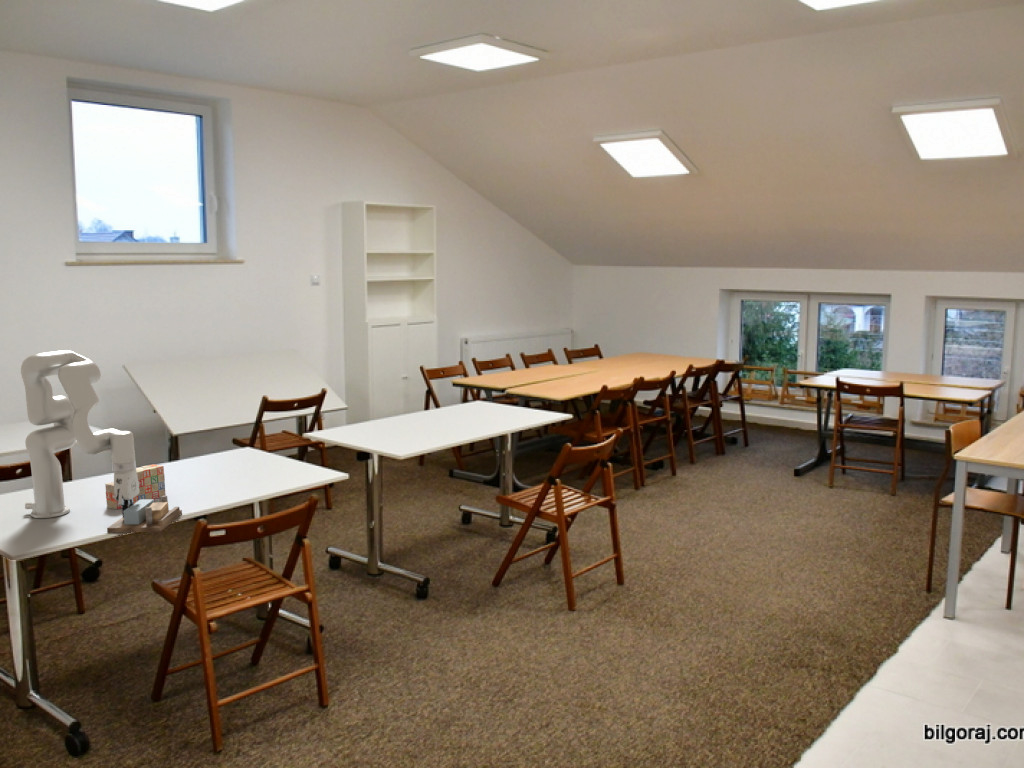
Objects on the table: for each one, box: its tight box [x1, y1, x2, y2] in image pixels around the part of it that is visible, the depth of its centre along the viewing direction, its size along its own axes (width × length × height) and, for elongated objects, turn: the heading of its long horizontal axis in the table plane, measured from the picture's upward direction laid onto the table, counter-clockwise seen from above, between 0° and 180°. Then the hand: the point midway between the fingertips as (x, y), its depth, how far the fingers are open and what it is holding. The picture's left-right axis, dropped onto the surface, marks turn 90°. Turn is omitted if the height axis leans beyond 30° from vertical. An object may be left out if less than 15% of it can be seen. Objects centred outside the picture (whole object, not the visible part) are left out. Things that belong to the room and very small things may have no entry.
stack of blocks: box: [104, 463, 167, 510], centre depth 328 cm, size 21×6×12 cm, turn 150°
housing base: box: [106, 495, 183, 533], centre depth 302 cm, size 18×20×8 cm
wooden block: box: [145, 501, 170, 523], centre depth 302 cm, size 5×10×4 cm, turn 8°
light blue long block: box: [123, 499, 155, 525], centre depth 302 cm, size 5×14×5 cm, turn 1°
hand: (128, 517), depth 302 cm, fingers closed
